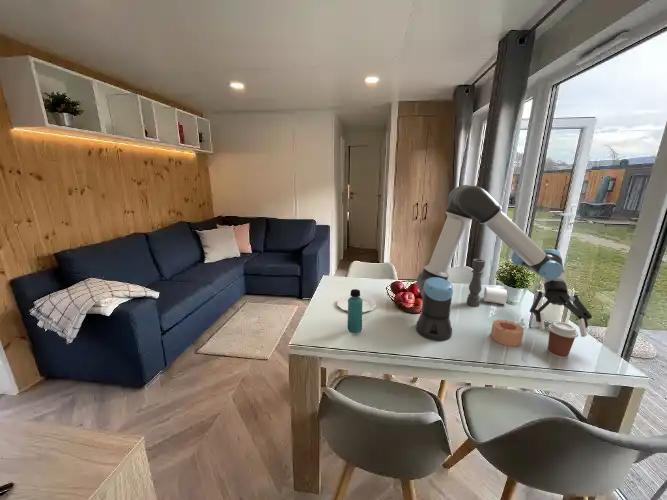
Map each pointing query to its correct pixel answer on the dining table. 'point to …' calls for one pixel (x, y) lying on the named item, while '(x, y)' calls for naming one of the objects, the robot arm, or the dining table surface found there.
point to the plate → (370, 301)
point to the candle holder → (475, 283)
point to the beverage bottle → (355, 312)
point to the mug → (495, 295)
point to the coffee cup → (561, 339)
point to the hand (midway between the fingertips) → (562, 333)
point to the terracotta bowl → (507, 332)
